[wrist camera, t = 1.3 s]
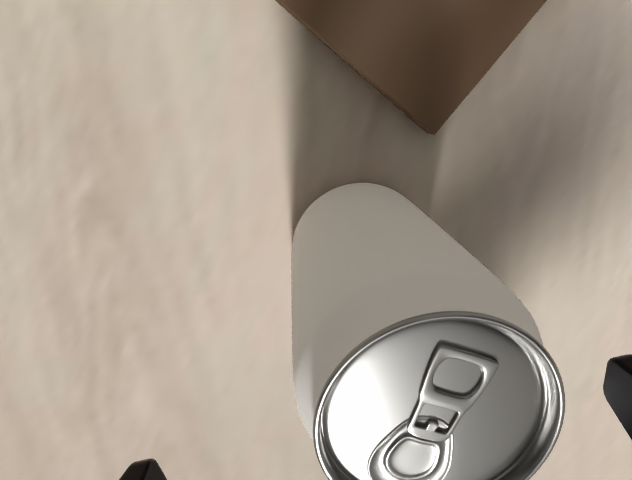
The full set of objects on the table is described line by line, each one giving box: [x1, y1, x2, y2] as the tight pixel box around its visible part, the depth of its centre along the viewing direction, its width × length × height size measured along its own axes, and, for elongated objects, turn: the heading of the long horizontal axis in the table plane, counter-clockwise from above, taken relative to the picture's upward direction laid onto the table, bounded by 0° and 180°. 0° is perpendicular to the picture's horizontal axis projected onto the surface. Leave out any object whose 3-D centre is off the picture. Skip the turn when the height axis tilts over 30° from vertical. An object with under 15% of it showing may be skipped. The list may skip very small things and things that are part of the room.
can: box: [291, 183, 565, 480], centre depth 15 cm, size 6×6×12 cm
